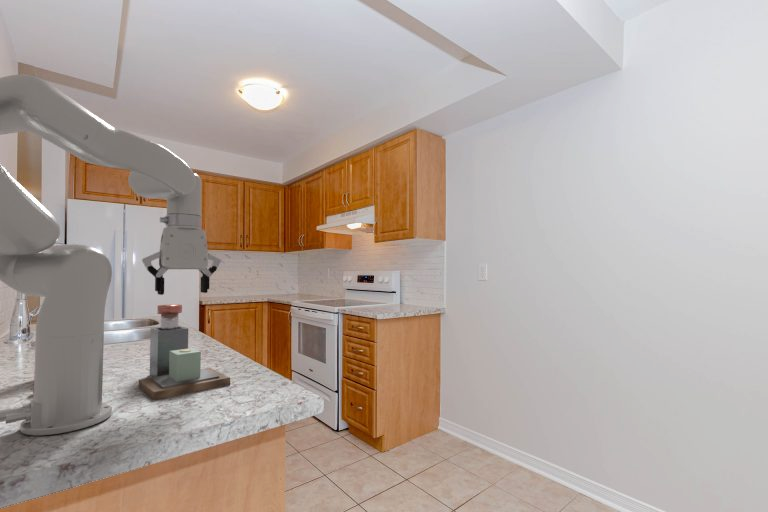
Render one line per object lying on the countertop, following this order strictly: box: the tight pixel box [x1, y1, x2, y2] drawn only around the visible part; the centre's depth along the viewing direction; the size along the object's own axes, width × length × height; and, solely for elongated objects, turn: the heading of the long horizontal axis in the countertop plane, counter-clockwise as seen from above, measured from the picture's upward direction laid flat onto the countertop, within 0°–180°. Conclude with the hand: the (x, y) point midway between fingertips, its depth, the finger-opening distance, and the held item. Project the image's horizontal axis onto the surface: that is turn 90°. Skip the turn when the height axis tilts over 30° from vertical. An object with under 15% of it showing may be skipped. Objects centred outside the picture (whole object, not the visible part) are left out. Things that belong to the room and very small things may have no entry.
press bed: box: [138, 367, 231, 401], centre depth 90 cm, size 16×13×2 cm
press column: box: [149, 325, 189, 377], centre depth 100 cm, size 7×7×12 cm
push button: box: [157, 303, 183, 331], centre depth 100 cm, size 6×6×9 cm
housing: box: [169, 347, 202, 382], centre depth 90 cm, size 5×6×6 cm
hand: (183, 293), depth 93 cm, fingers open, 9 cm apart
